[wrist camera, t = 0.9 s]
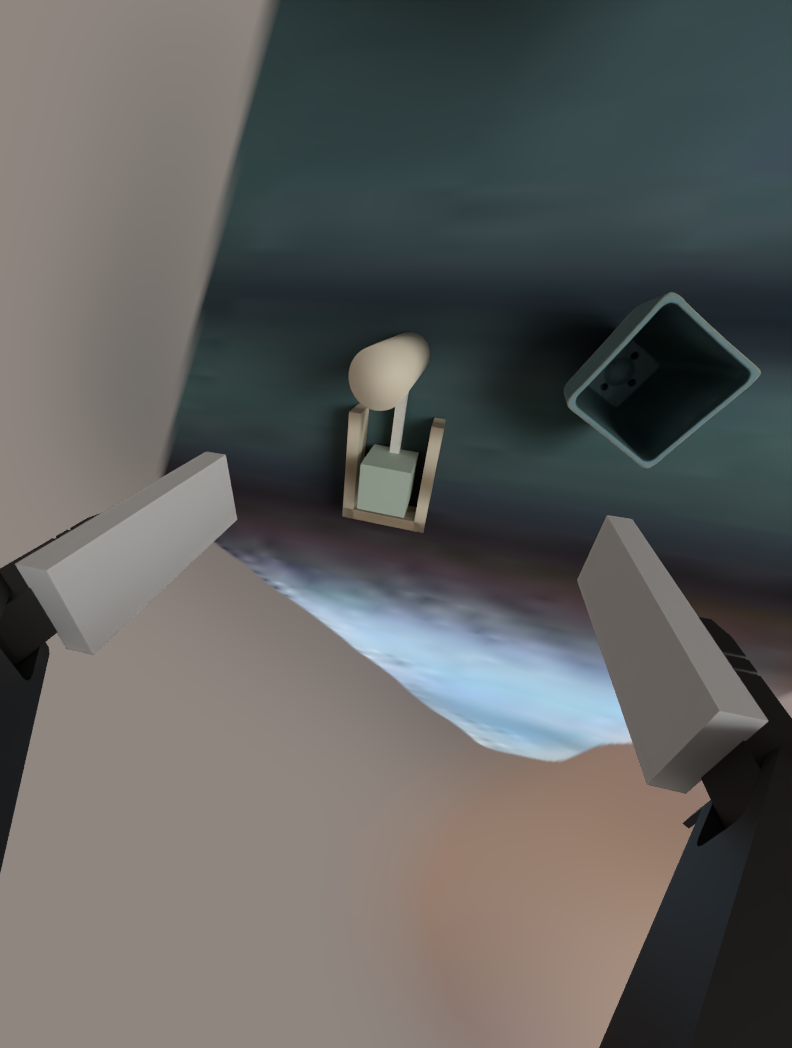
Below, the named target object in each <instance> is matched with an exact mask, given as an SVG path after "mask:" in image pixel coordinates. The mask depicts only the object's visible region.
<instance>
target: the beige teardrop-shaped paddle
mask: <svg viewBox="0 0 792 1048" xmlns="http://www.w3.org/2000/svg"><path fill="white" fill-rule="evenodd" d="M429 359H430V350H429V346H428V344H427V342H426V340H425V339H424V338H423V337H422V336H421V335H419V334H417V333H414V332H404V333H402V334H399V335H397V336H394V337H392V338H389V339H387V340H384V341H382V342H379V343H376V344H374V345H371V346H369V347H366V348H364V349H363V350H361V351H360V352H359V353H358V354H357V355H356V356H355V357H354V359H353V361H352V363H351V365H350V369H349V384H350V388H351V391H352V393H353V395H354V396H355V398H356V399H357V400H358V401H359V402H360V403H361V404H362V405H364V406H365V407H367V408H369V409H372V410H376V411H385V410H389V409H392V408H394V407H395V413H394V421H393V428H392V436H391V444H390V447H387V446H381V445H376V444H374V445H373V447H372V448H371V450H370V451H369V453H368V454H367V455H366V457H365V458H364V460H363V461H362V463H361V466H360V477H359V489H358V500H357V509H362V510H367V511H372V512H377V513H382V514H387V515H392V516H397V517H401V518H404V516H405V513H406V510H407V507H408V503H409V500H410V497H411V494H412V489H413V483H414V477H415V472H416V466H417V460H418V454H419V452H413V451H408V450H403V449H400V448H401V441H402V434H403V427H404V420H405V413H406V406H407V399H408V392H409V390H410V389H411V388H412V386H413V385H414V384H415V382H416V381H417V379H418V378H419V377H420V375H421V374H422V373H423V371H424V370H425V368H426V367H427V365H428V363H429Z"/></svg>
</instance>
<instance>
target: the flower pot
mask: <svg viewBox="0 0 792 1048" xmlns="http://www.w3.org/2000/svg"><path fill="white" fill-rule="evenodd" d="M634 352H636V353H637V357H636V358H634V359H632V358H631V355H632V353H634ZM760 374H761V371H760V370H759V369H758V368H757V367H756V366H755V364H753V363H752V362H751V361H750V360H749V359H748V358H746V357H745V356H744V355H743V354H742V353H741V352H740V351H738V350H737V349H736V348H735V347H733V346H732V345H731V344H730V343H729V342H728V341H727V340H726V339H725V338H724V337H722V336H721V335H720V334H719V333H718V332H717V331H716V330H715V329H714V328H713V327H712V326H710V324H708V323H707V322H706V321H705V320H704V319H703V318H702V317H701V316H700V315H699V314H698V313H697V312H696V311H695V310H694V309H692V307H691V306H690V305H689V304H688V303H686V302H685V300H684V299H683V298H682V297H680V296H679V295H678V294H676V293H673V292H670V293H667V294H665V295H662V296H660V297H657V298H654V299H652V300H649V301H647V302H645V303H642V304H641V305H639V306H638V307H636V308H635V309H634V310H633V311H632V312H630V313H629V315H628V316H627V317H626V318H625V319H624V320H623V321H622V322H621V323H620V325H619V326H618V327H617V328H616V329H615V330H614V331H613V332H612V334H611V335H610V336H609V337H608V338H607V339H606V340H605V341H604V342H603V343H602V345H601V346H600V347H599V348H598V349H597V350H596V351H595V352H594V353H593V355H592V356H591V357H590V358H589V359H588V360H587V361H586V362H585V363H584V364H583V365H582V367H581V368H580V369H579V370H578V371H577V372H576V373H575V374H574V375H573V376H572V377H571V378H570V380H569V381H568V382H567V383H566V385H565V387H564V396H565V399H566V403H567V406H568V407H569V409H570V410H571V411H573V412H574V413H575V414H577V415H578V416H579V417H581V418H582V419H583V420H584V421H586V422H587V423H588V424H589V425H591V426H592V427H593V428H594V429H596V430H597V431H598V432H599V433H601V434H602V435H603V436H605V437H606V438H607V439H608V440H609V441H611V442H612V443H613V444H614V445H616V446H617V447H618V448H619V449H621V450H622V451H623V452H624V453H625V454H627V455H628V456H629V457H630V458H631V459H633V460H634V461H635V462H636V463H637V464H638V465H640V466H641V467H643V468H650V467H652V466H653V465H655V464H656V463H658V462H659V461H660V460H661V459H662V458H664V457H665V456H666V455H667V454H668V453H670V452H671V451H672V450H673V449H674V448H675V447H676V446H678V445H679V444H680V443H681V442H682V441H684V440H685V439H686V438H687V437H688V436H689V435H690V434H692V433H693V432H694V431H695V430H696V429H698V428H699V427H700V426H701V425H702V424H704V423H705V422H706V421H707V420H709V419H710V418H711V417H712V416H714V415H715V414H716V413H717V412H718V411H720V410H721V409H722V408H724V407H725V406H726V405H727V404H728V403H729V402H731V401H732V400H733V399H734V398H736V397H737V396H738V395H739V394H741V393H742V392H743V391H744V390H745V389H747V388H748V387H749V386H750V385H752V384H753V383H754V382H755V381H756V379H757V378H758V377H759V376H760ZM631 379H634V380H635V383H634V384H633V385H629V381H630V380H631ZM603 384H607V388H606V389H602V388H601V386H602V385H603Z"/></svg>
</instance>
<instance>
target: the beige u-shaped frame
mask: <svg viewBox="0 0 792 1048" xmlns="http://www.w3.org/2000/svg"><path fill="white" fill-rule="evenodd" d="M368 415H369V408H367V407H365V406H364V405H362V404H357V405H356V406H355V407H354V408H353V409H352V410H351V411H349V422H348V437H347V453H346V469H345V485H344V500H343V517H348V518H353V519H358V520H363V521H368V522H372V523H377V524H382V525H387V526H392V527H397V528H402V529H406V530H411V531H416V532H421V533H423V530H424V525H425V521H426V516H427V511H428V506H429V501H430V496H431V491H432V486H433V481H434V476H435V471H436V466H437V462H438V457H439V452H440V447H441V442H442V437H443V432H444V427H445V422H446V419H441V418H434V421H433V424H432V427H431V433H430V438H429V443H428V449H427V454H426V460H425V465H424V471H423V476H422V482H421V487H420V493H419V498H418V503H417V507H414V506H409V505H408V507H407V510H406V513H405V516H404V518H401V517H397V516H392V515H387V514H382V513H377V512H372V511H367V510H362V509H357V500H358V489H359V477H360V466H361V463H362V461H363V460H364V458H365V448H366V437H367V426H368Z"/></svg>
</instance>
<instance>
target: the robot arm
mask: <svg viewBox="0 0 792 1048" xmlns="http://www.w3.org/2000/svg"><path fill="white" fill-rule="evenodd" d="M236 520H237V516H236V510H235V505H234V499H233V493H232V488H231V482H230V477H229V471H228V465H227V460H226V455H224V454H218V453H211V452H204V453H203V454H201V455H199V456H198V457H196V458H194V459H193V460H191V461H189V462H187V463H186V464H184V465H182V466H181V467H179V468H177V469H175V470H174V471H172V472H170V473H169V474H167V475H165V476H164V477H162V478H160V479H158V480H157V481H155V482H153V483H152V484H150V485H148V486H147V487H145V488H143V489H141V490H140V491H138V492H136V493H135V494H133V495H131V496H130V497H128V498H126V499H125V500H123V501H121V502H119V503H118V504H116V505H114V506H112V507H111V508H109V509H107V510H106V511H104V512H102V513H100V514H97V515H95V516H92V517H89V518H87V519H85V520H83V521H82V522H80V523H78V524H76V525H75V526H73V527H71V529H70V530H66V531H64V532H63V533H61V534H59V535H57V536H56V539H53V538H52V539H50V540H49V541H47V542H45V543H44V544H42V545H40V546H38V547H37V548H35V549H33V550H32V551H30V552H28V553H26V554H25V555H23V556H21V557H19V558H18V559H16V560H14V561H13V562H11V563H9V564H8V565H6V566H4V567H2V568H0V871H1V867H2V863H3V858H4V854H5V850H6V845H7V841H8V836H9V832H10V827H11V823H12V818H13V814H14V809H15V805H16V800H17V796H18V791H19V787H20V782H21V778H22V774H23V769H24V764H25V760H26V756H27V751H28V747H29V742H30V738H31V734H32V729H33V724H34V720H35V716H36V711H37V707H38V702H39V697H40V694H41V689H42V685H43V680H44V676H45V671H46V666H47V662H48V658H49V647H48V646H47V644H46V641H47V640H48V639H50V638H51V637H52V636H53V635H54V634H56V633H57V634H58V636H59V637H60V639H61V640H62V642H63V644H64V645H65V647H66V649H69V650H73V651H78V652H82V653H86V654H91V655H94V654H95V653H96V652H97V651H98V650H100V649H101V648H102V647H103V646H104V645H105V644H106V643H107V642H108V641H109V640H110V639H111V638H112V637H113V636H114V635H115V634H116V633H118V632H119V631H120V630H121V629H122V628H123V627H124V626H125V625H126V624H127V623H128V622H129V621H130V620H131V619H132V618H133V617H134V616H136V614H138V613H139V612H140V611H141V610H142V609H143V608H144V607H145V606H146V605H147V604H148V603H149V602H150V601H151V600H152V599H154V598H155V597H156V596H157V595H158V594H159V593H160V592H161V591H162V590H163V589H164V588H165V587H166V586H167V585H168V584H169V583H170V582H172V581H173V580H174V579H175V578H176V577H177V576H178V575H179V574H180V573H181V572H182V571H183V570H184V569H185V568H186V567H187V566H188V565H190V563H192V562H193V561H194V560H195V559H196V558H197V557H198V556H199V555H200V554H201V553H202V552H203V551H204V550H205V549H206V548H208V547H209V546H210V545H211V544H212V543H213V542H214V541H215V540H216V539H217V538H218V537H219V536H220V535H221V534H222V533H223V532H224V531H226V530H227V529H228V528H229V527H230V526H231V525H232V524H233V523H234V522H235V521H236ZM577 581H578V584H579V587H580V590H581V593H582V596H583V599H584V602H585V605H586V608H587V611H588V614H589V617H590V619H591V622H592V625H593V628H594V631H595V634H596V637H597V640H598V643H599V646H600V649H601V652H602V655H603V657H604V660H605V663H606V666H607V669H608V672H609V675H610V678H611V681H612V684H613V687H614V690H615V693H616V695H617V698H618V701H619V704H620V707H621V710H622V713H623V716H624V719H625V722H626V725H627V728H628V730H629V733H630V736H631V739H632V742H633V745H634V748H635V751H636V754H637V757H638V760H639V763H640V766H641V768H642V771H643V774H644V777H645V780H646V783H647V785H651V786H655V787H659V788H664V789H668V790H672V791H677V792H681V793H685V794H686V793H687V792H688V791H689V790H691V789H692V788H693V787H694V786H695V785H696V784H697V783H699V782H700V781H701V780H702V781H703V784H704V786H705V788H706V790H707V792H708V795H709V797H710V799H711V800H710V801H709V802H707V803H706V804H705V805H704V806H702V807H701V808H700V809H699V810H698V811H696V812H695V813H694V814H693V815H691V816H690V817H689V818H688V819H687V820H686V821H685V822H684V823H683V824H684V825H685V826H686V827H688V828H690V827H692V826H693V825H694V824H695V826H694V828H693V831H692V833H691V835H690V837H689V840H688V842H687V844H686V847H685V849H684V851H683V854H682V856H681V858H680V861H679V863H678V865H677V868H676V870H675V872H674V875H673V877H672V879H671V882H670V884H669V887H668V889H667V891H666V893H665V896H664V898H663V900H662V903H661V905H660V907H659V910H658V912H657V914H656V917H655V919H654V921H653V924H652V926H651V928H650V931H649V933H648V935H647V938H646V940H645V942H644V944H643V947H642V949H641V951H640V954H639V957H638V959H637V961H636V963H635V966H634V968H633V970H632V972H631V975H630V977H629V980H628V982H627V984H626V987H625V989H624V991H623V994H622V996H621V998H620V1000H619V1003H618V1005H617V1007H616V1010H615V1012H614V1014H613V1017H612V1019H611V1021H610V1024H609V1026H608V1028H607V1031H606V1033H605V1035H604V1038H603V1040H602V1042H601V1045H600V1047H599V1048H792V718H791V717H790V716H789V714H788V713H787V712H786V710H785V709H784V707H783V706H782V705H781V703H780V702H779V701H778V699H777V698H776V697H775V695H774V694H773V692H772V691H771V690H770V688H769V687H768V686H767V684H766V683H765V682H764V680H763V679H762V678H761V676H758V675H757V671H756V669H755V668H754V667H753V665H752V664H751V663H750V661H749V660H746V659H745V657H746V656H745V654H744V653H743V652H742V650H741V649H740V648H739V646H738V645H737V643H736V642H735V641H734V639H733V638H732V637H731V636H730V635H729V634H728V633H726V632H725V631H724V630H723V629H722V628H721V627H719V626H718V625H717V624H716V623H715V622H714V621H712V620H711V619H706V618H701V617H698V616H697V614H696V613H695V611H694V610H693V608H692V607H691V605H690V604H689V602H688V601H687V600H686V598H685V597H684V595H683V594H682V592H681V591H680V589H679V588H678V586H677V585H676V583H675V582H674V580H673V579H672V577H671V576H670V574H669V573H668V571H667V570H666V568H665V567H664V566H663V564H662V563H661V561H660V560H659V558H658V557H657V555H656V554H655V552H654V551H653V549H652V548H651V546H650V545H649V543H648V542H647V540H646V539H645V537H644V536H643V534H642V533H641V532H640V530H639V529H638V527H637V526H636V524H635V523H634V521H633V520H632V519H628V518H621V517H615V516H609V515H607V516H606V519H605V521H604V523H603V525H602V527H601V529H600V532H599V534H598V536H597V538H596V540H595V542H594V545H593V547H592V549H591V551H590V553H589V556H588V558H587V560H586V562H585V564H584V566H583V569H582V571H581V573H580V575H579V577H578V580H577Z"/></svg>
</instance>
